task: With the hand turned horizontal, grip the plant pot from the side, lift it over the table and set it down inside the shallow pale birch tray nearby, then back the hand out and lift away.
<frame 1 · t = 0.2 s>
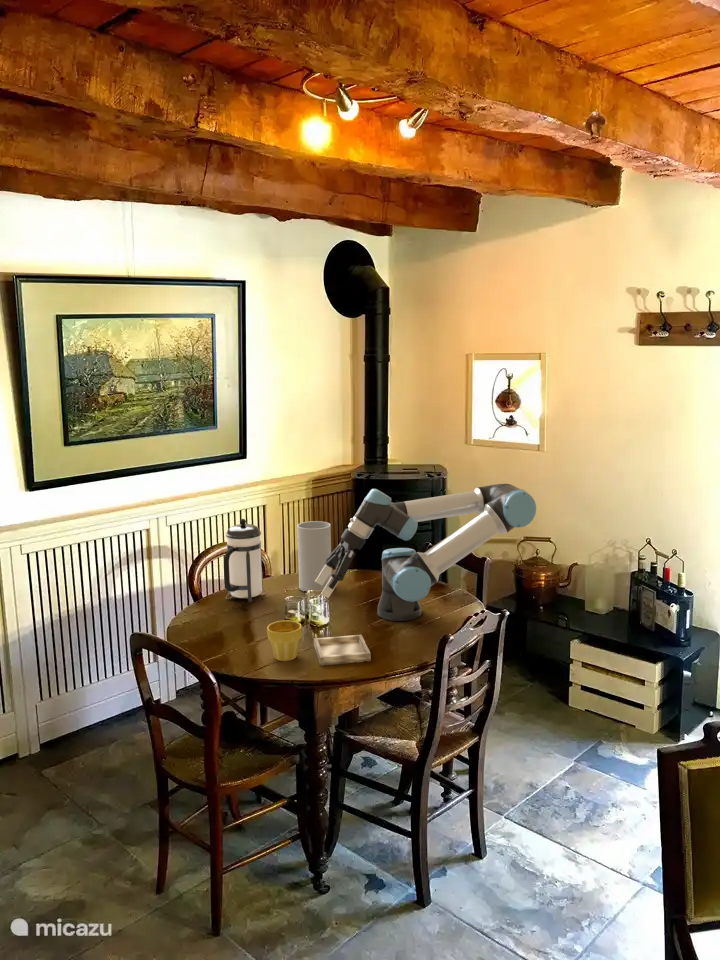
hand: (321, 589, 248), 15 cm above the table, tool tilted 35°, fingers open, 13 cm apart
plant pot: (285, 657, 233), on the table
coffee press: (245, 599, 287), on the table
birch tray: (341, 653, 235), on the table
cylinder vase: (315, 588, 297), on the table
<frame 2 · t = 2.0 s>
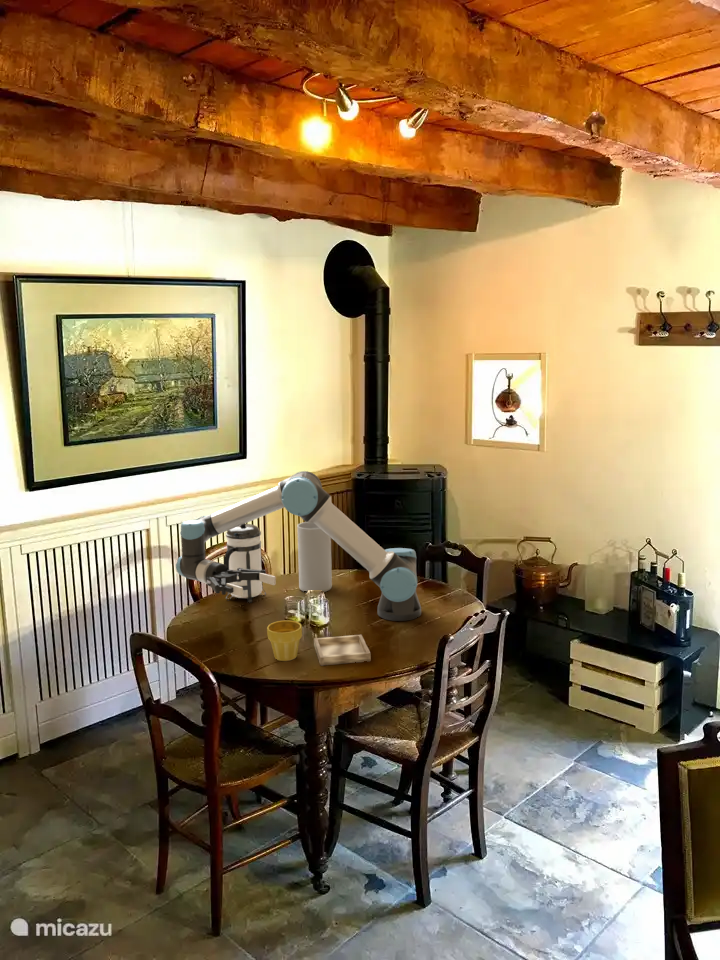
hand: (258, 586, 236), 20 cm above the table, tool horizontal, fingers open, 13 cm apart
nothing on the table moved.
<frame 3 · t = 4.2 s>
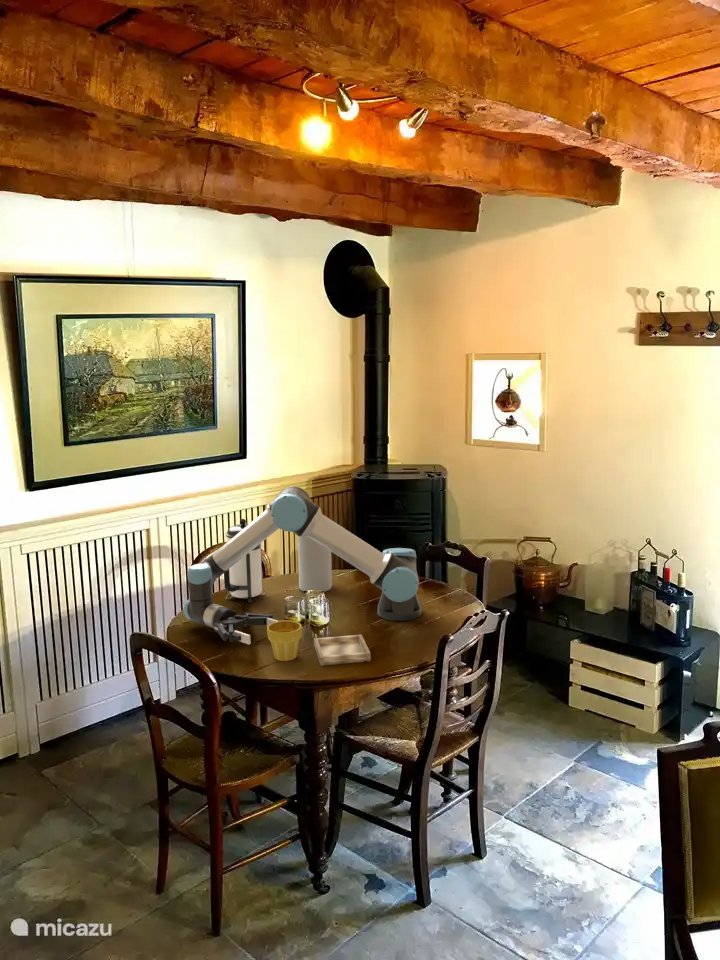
hand: (266, 633, 237), 6 cm above the table, tool horizontal, fingers open, 13 cm apart
nothing on the table moved.
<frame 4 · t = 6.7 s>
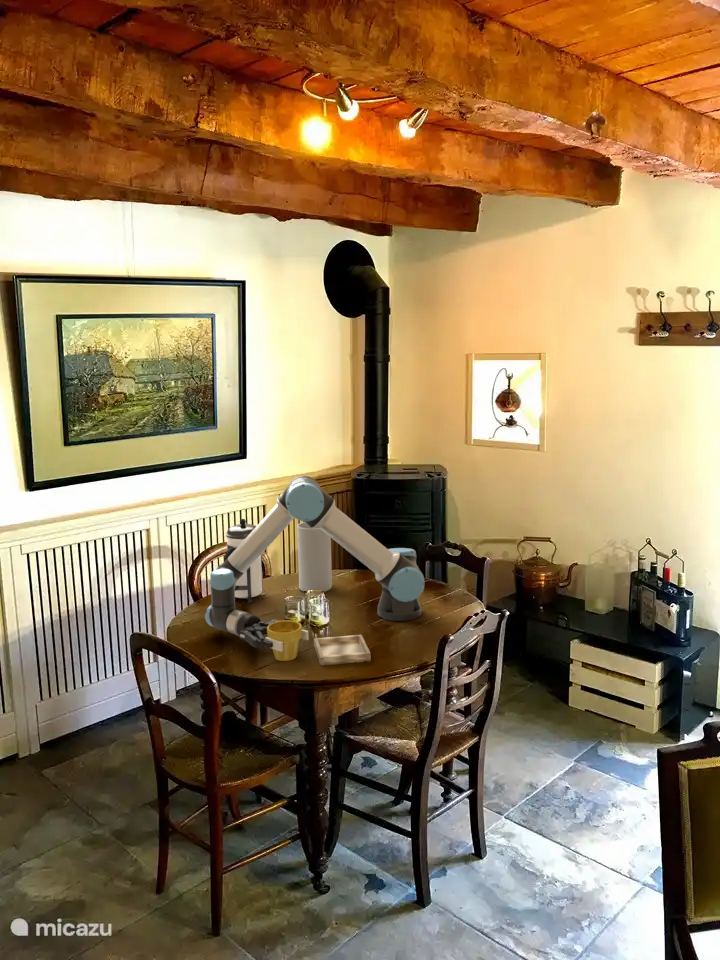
hand: (294, 641, 230), 6 cm above the table, tool horizontal, fingers closed on plant pot, 10 cm apart
plant pot: (285, 657, 233), on the table, touching gripper
everything else where it was.
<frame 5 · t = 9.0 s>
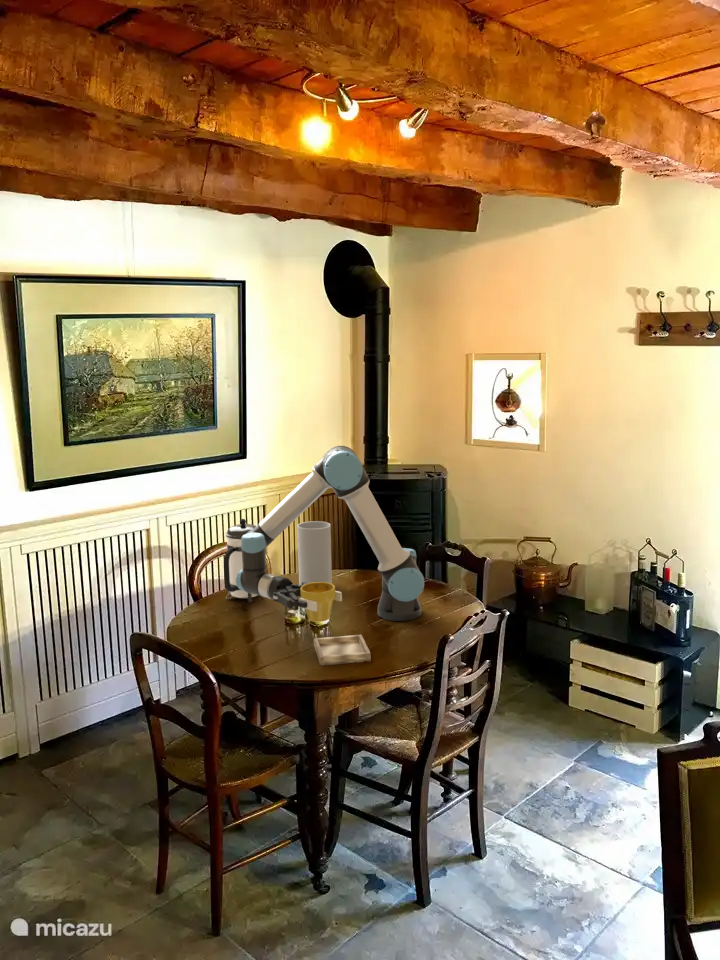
hand: (328, 601, 229), 18 cm above the table, tool horizontal, fingers closed on plant pot, 10 cm apart
plant pot: (318, 618, 233), point 11 cm above the table, touching gripper
everything else where it was.
when the fingers open (8 cm above the table, at t = 11.8 s): plant pot drops 1 cm, resting on birch tray.
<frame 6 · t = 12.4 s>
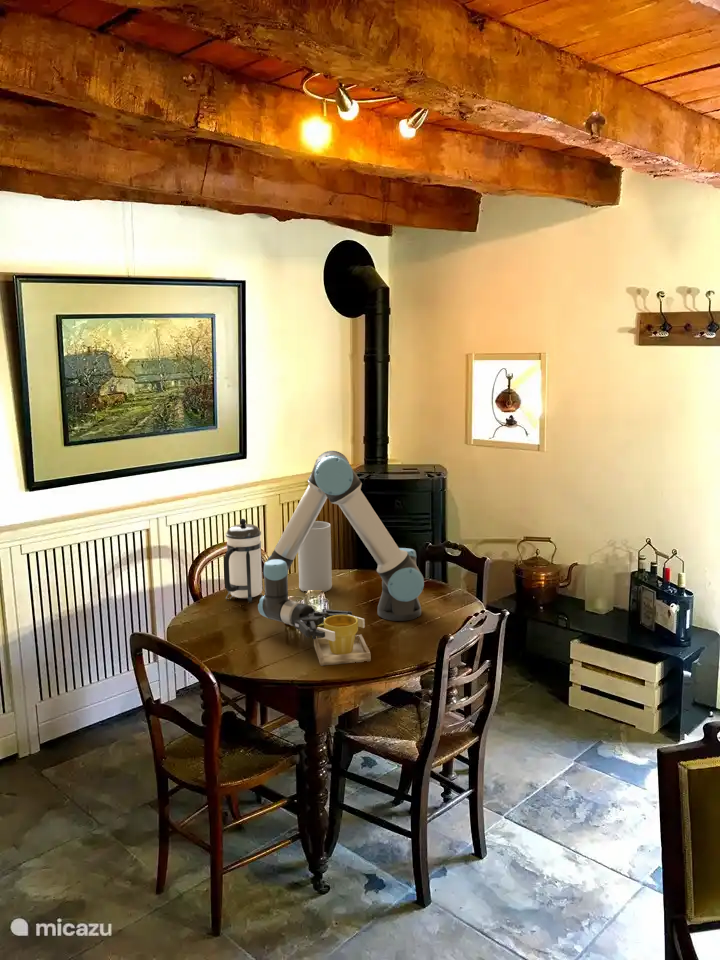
hand: (349, 629, 232), 8 cm above the table, tool horizontal, fingers open, 13 cm apart
plant pot: (341, 651, 235), point 1 cm above the table, touching birch tray
everything else where it was.
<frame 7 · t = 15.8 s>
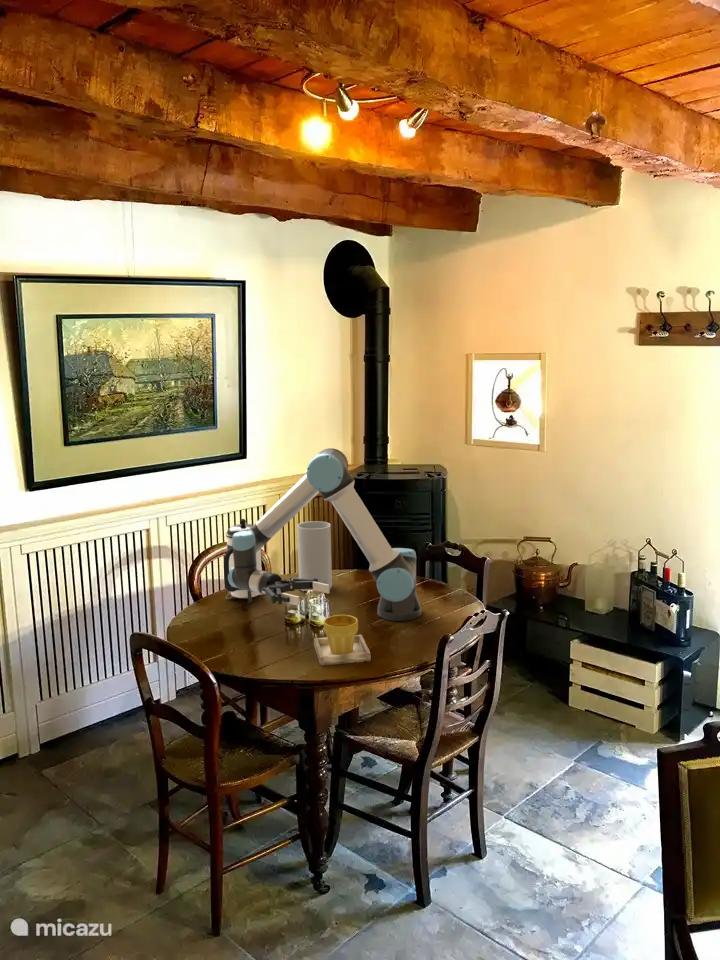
hand: (314, 595, 239), 16 cm above the table, tool horizontal, fingers open, 13 cm apart
nothing on the table moved.
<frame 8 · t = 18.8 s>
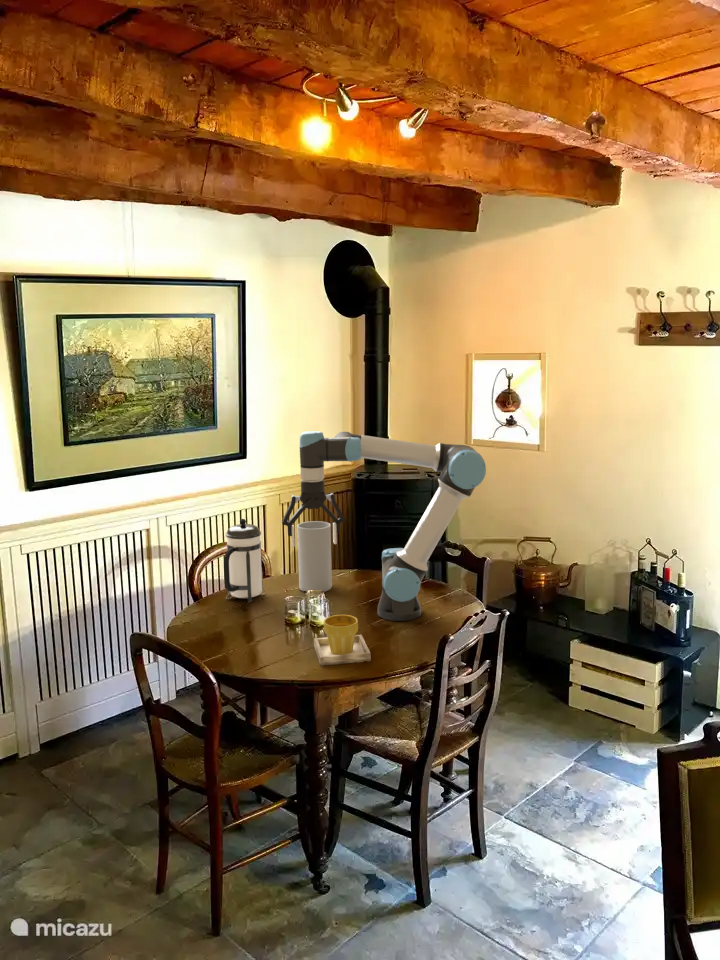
hand: (314, 544, 251), 29 cm above the table, tool pointing down, fingers open, 13 cm apart
nothing on the table moved.
at the end: plant pot 0.1 cm off-centre on the birch tray, point 0.6 cm above the birch tray's base; plant pot tilted 0°; the gripper is holding nothing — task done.
